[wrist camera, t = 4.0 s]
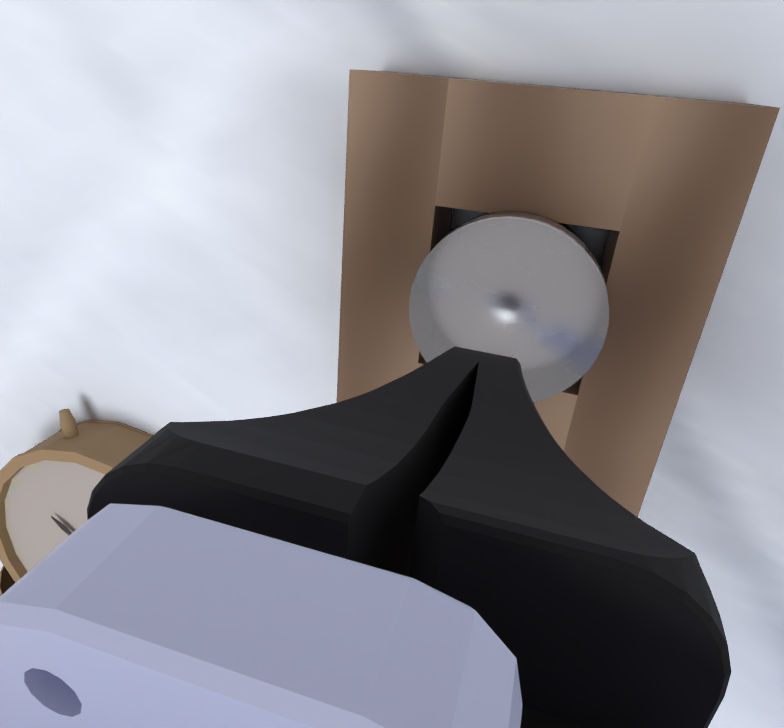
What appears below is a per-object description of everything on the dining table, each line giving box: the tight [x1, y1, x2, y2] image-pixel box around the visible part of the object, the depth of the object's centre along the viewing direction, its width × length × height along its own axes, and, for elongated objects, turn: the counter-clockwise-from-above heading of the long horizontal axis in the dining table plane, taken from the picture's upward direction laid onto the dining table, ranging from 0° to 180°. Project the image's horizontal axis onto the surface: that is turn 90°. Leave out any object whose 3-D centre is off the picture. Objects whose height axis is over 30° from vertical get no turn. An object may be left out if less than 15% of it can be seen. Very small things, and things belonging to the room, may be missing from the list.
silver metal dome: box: [409, 212, 609, 402], centre depth 17 cm, size 5×5×4 cm
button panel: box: [337, 70, 780, 517], centre depth 20 cm, size 10×22×3 cm, turn 176°
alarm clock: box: [0, 409, 153, 596], centre depth 29 cm, size 11×5×15 cm
